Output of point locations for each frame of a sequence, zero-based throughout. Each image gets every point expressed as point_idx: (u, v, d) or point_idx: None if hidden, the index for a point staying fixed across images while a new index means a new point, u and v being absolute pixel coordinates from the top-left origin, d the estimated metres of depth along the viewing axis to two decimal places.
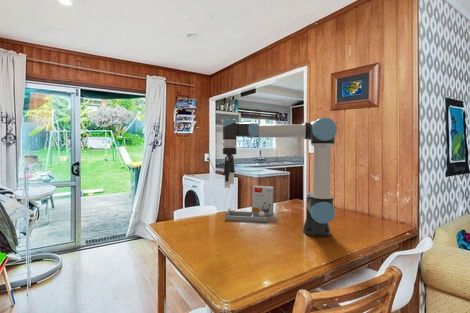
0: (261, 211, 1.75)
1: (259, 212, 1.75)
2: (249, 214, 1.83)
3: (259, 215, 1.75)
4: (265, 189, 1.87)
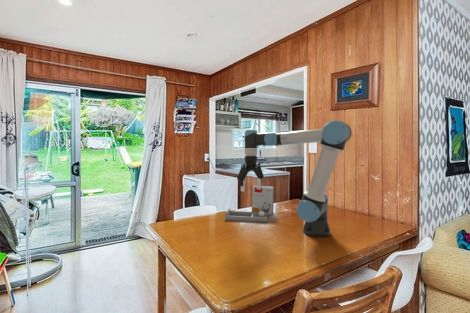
0: (261, 211, 1.75)
1: (259, 212, 1.75)
2: (249, 214, 1.83)
3: (259, 215, 1.75)
4: (265, 189, 1.87)
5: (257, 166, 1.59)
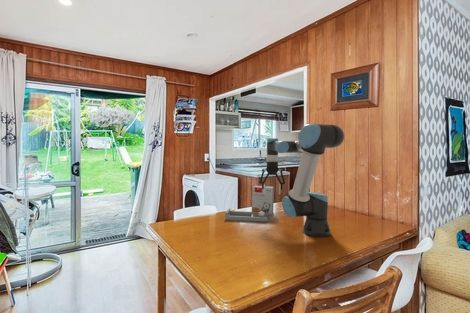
0: (261, 211, 1.75)
1: (259, 212, 1.75)
2: (249, 214, 1.83)
3: (259, 215, 1.75)
4: (265, 189, 1.87)
5: None
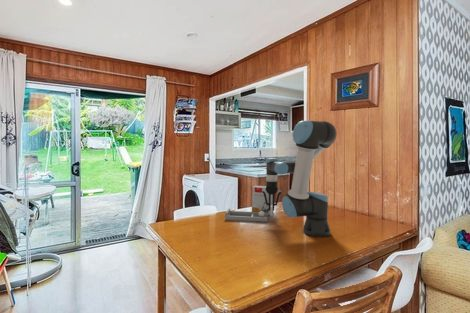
0: (261, 211, 1.75)
1: (259, 212, 1.75)
2: (249, 214, 1.83)
3: (259, 215, 1.75)
4: None
5: None
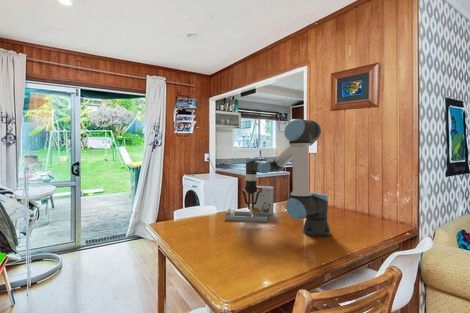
0: None
1: (233, 213, 1.78)
2: (249, 214, 1.83)
3: (231, 212, 1.78)
4: (265, 189, 1.87)
5: None
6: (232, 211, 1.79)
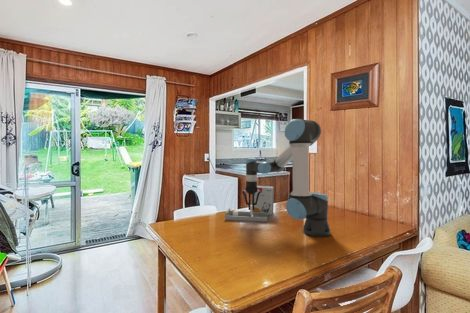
0: None
1: None
2: (249, 214, 1.83)
3: (237, 213, 1.78)
4: (265, 189, 1.87)
5: (257, 192, 1.75)
6: None
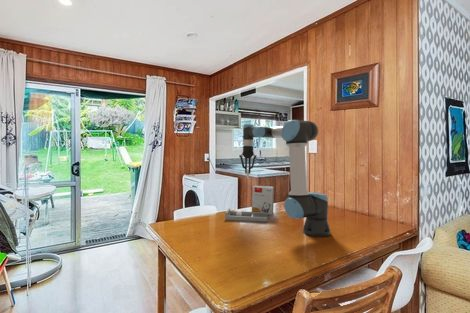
0: (236, 214, 1.78)
1: None
2: (249, 214, 1.83)
3: (240, 215, 1.78)
4: (265, 189, 1.87)
5: (253, 156, 1.85)
6: None
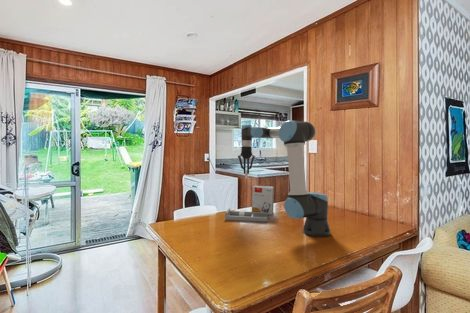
0: (239, 212, 1.78)
1: (239, 214, 1.78)
2: (249, 214, 1.83)
3: None
4: (265, 189, 1.87)
5: None
6: None
